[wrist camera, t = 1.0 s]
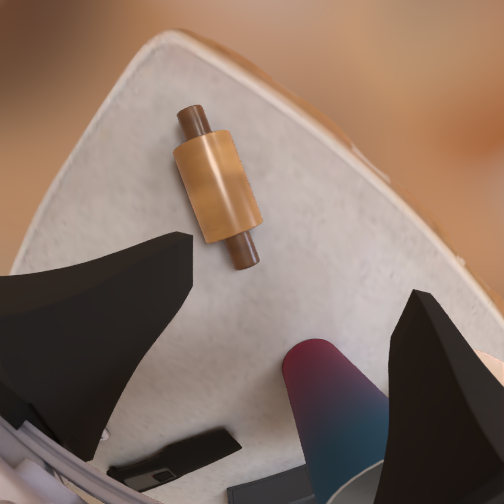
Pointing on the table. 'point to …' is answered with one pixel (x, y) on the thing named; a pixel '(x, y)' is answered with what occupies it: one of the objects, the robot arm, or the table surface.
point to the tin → (276, 489)
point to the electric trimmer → (176, 461)
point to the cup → (337, 422)
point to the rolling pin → (217, 186)
